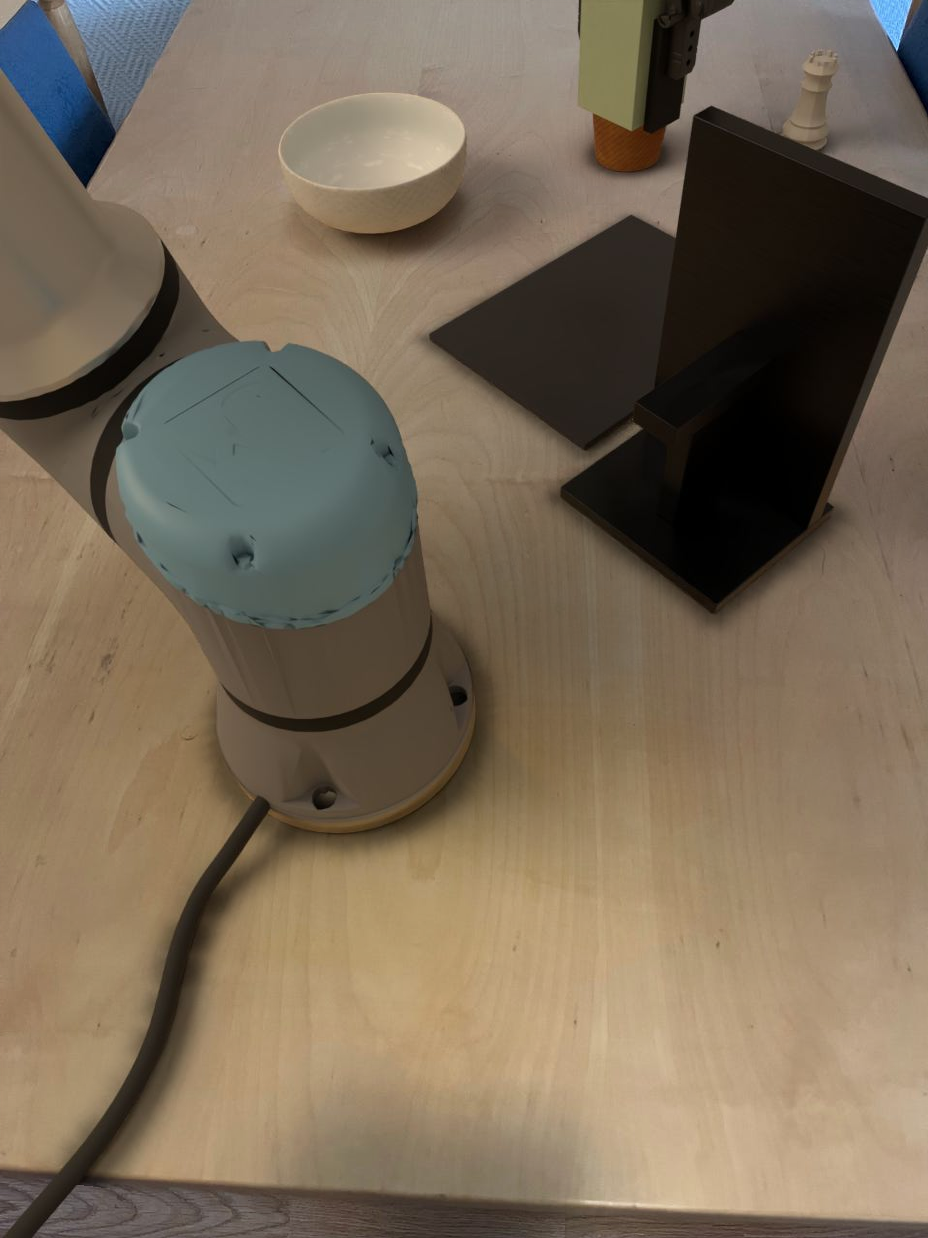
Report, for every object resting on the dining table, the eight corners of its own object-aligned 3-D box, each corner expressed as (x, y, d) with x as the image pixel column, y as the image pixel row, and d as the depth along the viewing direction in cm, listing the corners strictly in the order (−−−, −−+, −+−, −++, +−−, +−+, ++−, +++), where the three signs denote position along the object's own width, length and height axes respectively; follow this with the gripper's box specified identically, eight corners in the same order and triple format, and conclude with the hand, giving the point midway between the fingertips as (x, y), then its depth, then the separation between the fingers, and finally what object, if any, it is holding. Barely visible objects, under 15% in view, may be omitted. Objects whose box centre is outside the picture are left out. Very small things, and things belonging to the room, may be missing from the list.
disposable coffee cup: (672, 183, 86) (691, 45, 76) (572, 178, 87) (578, 42, 78) (679, 132, 91) (697, -3, 81) (585, 128, 93) (591, -5, 83)
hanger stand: (713, 614, 57) (803, 304, 39) (559, 496, 64) (571, 182, 45) (830, 516, 61) (963, 191, 43) (674, 414, 68) (729, 94, 49)
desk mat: (584, 450, 66) (584, 444, 66) (429, 339, 75) (428, 333, 74) (791, 305, 74) (793, 299, 74) (630, 220, 83) (631, 213, 82)
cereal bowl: (353, 286, 80) (339, 210, 74) (262, 207, 88) (244, 134, 82) (506, 213, 85) (504, 137, 79) (407, 145, 93) (398, 72, 87)
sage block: (631, 131, 59) (644, -10, 52) (577, 105, 61) (582, -33, 54) (683, 102, 60) (702, -38, 54) (628, 78, 63) (639, -59, 56)
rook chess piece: (827, 156, 87) (851, 67, 80) (779, 155, 88) (799, 66, 81) (824, 132, 90) (847, 44, 83) (777, 131, 90) (796, 43, 84)
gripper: (892, -414, 39) (773, 134, 58) (591, -436, 47) (574, 49, 66) (780, -380, 36) (695, 181, 55) (483, -410, 45) (498, 86, 64)
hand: (629, 108), depth 61 cm, fingers closed on sage block, 5 cm apart
